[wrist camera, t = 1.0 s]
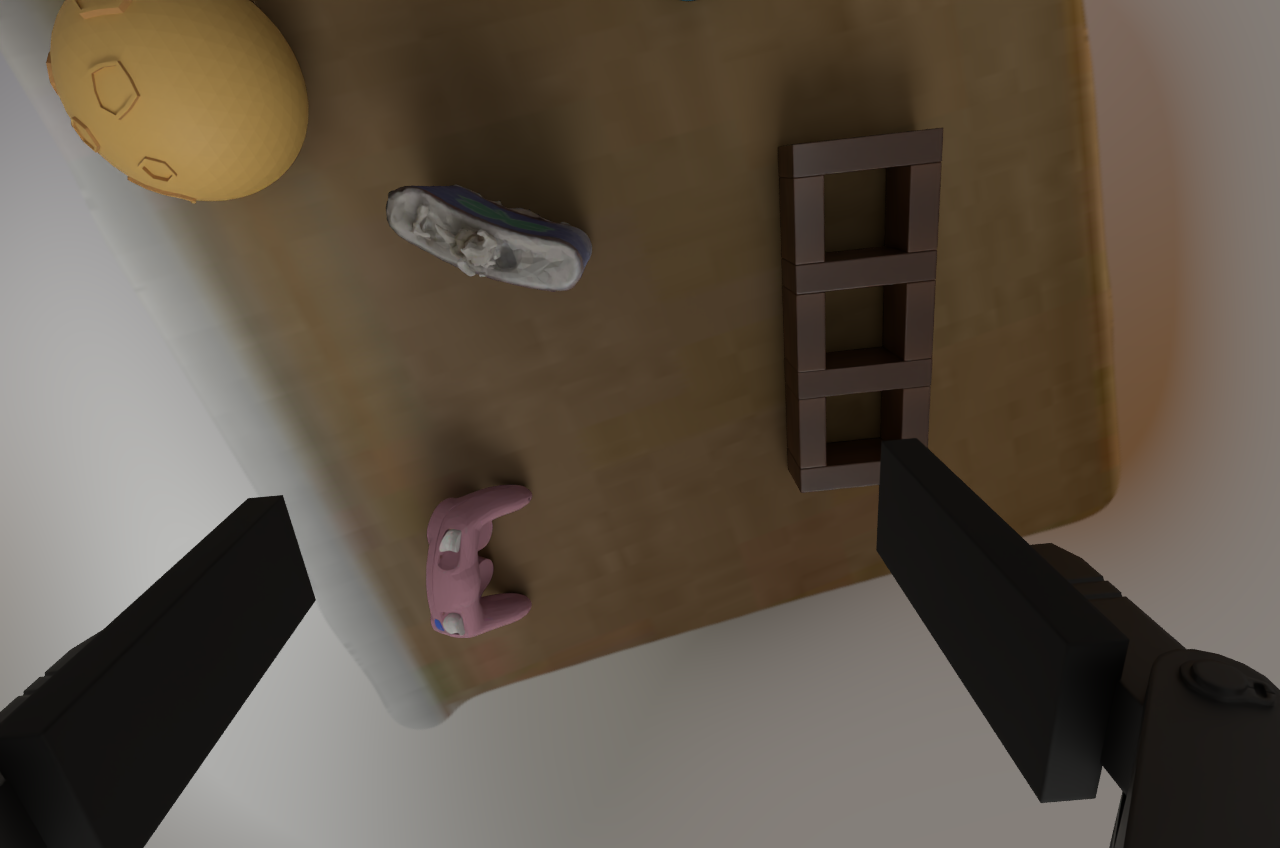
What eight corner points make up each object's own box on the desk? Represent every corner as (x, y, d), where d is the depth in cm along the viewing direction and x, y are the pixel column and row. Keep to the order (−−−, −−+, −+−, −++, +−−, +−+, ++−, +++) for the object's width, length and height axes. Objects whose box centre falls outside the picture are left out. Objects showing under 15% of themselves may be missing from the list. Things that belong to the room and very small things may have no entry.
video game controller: (481, 466, 45) (405, 508, 39) (538, 482, 44) (468, 528, 38) (484, 592, 49) (414, 648, 43) (537, 612, 47) (472, 672, 41)
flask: (598, 233, 39) (587, 255, 29) (582, 282, 40) (566, 320, 30) (439, 175, 38) (370, 177, 28) (427, 227, 39) (356, 247, 28)
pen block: (777, 146, 37) (792, 144, 34) (915, 131, 37) (943, 127, 34) (787, 469, 44) (800, 493, 41) (904, 457, 44) (926, 480, 41)
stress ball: (265, -46, 34) (127, -129, 24) (376, 146, 37) (292, 137, 28) (107, 52, 35) (-82, 8, 26) (227, 229, 38) (98, 248, 29)
